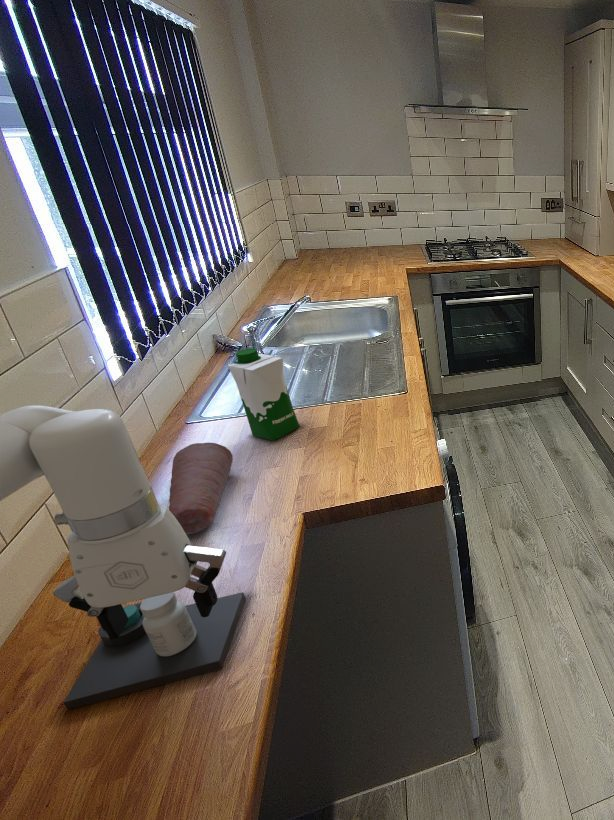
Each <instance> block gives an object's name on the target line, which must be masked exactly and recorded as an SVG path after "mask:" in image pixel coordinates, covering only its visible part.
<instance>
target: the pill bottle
mask: <svg viewBox="0 0 614 820" xmlns="http://www.w3.org/2000/svg"><path fill="white" fill-rule="evenodd" d="M140 603H141V605H140V609H141V612H142V614H143V616H144V619H143V623H142V624H143V627H144V629H145V631H146V633H147V635H148V637H149V639H150V641H151V643H152V645H153V647H154V649H155V651H156V653H157V654H158V655H160V656H171V655H174V654H177V653H179V652H181V651H182V650H184V649H186V648H187V647H188V646H189V645H190V644H191V643H192V642H193V641H194V639H195V638H196V634H197V632H196V629H195V627H194V625H193V622H192V620H191V618H190V616H189V614H188V612H187V609H186V607H185V606H186V605H185V603H184V602H182V601H181V600H178V598H177V596H176V594H175V592H172V593H168V594H164V595H159V596H155V597H150V598H146V599H142V602H140Z"/></svg>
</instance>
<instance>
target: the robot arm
mask: <svg viewBox="0 0 614 820" xmlns="http://www.w3.org/2000/svg"><path fill="white" fill-rule="evenodd" d="M43 476H44V477H45V479H46V481H47V482H48V484H49V487H50V488H51V491H52V492H53V494H54V497H55V498H56V500H57V502H58V504H59V507H60V509H61V510H62V511H61V512H58V513H56V514H55V515H54V516H53V517H54V518H53V521H54V523H55V524H56V525H57V526H61V525H68V526H69V528H70V530H71V532H70V534H69V535H68V537H67V547H68V548H67V549H68V555H69V559H70V564H71V567H72V571H73V575H71V576H70V577H68V578H67V579H65V580H63V581H62V582H60V583H59V584H58V585H57V586H56V587H55V589H54V590H53V591H52V595H53V596H54V597H55V598H57V599H59V600H61V601H62V602H64V603H68V606H69V607H70V608H73V609H76V610H79V611H83V612H86V615H87V616H88V617H90V618H96V619H97V621H98V623H99V626H100V627H102V628H103V630H104V631H106V632H107V634H108V636H109V638H110V640H112V639H117V638H118V637H119V636H120V634H121V632H122V631H123V629H124V627H125V625H126V624H127V622H128V617H127V615H126V613H125V611H124V609H123V607H124V606H123V604H124V605H125V604H127V603H132V602H137V601H143V600H144V599H146V598H150V597H155V596H159V595H164V594H168V593H172V592H174V593H175V592H178V591H180V590H182V589H184V588H186V589H189V590H191V591H193V594H192V598H193V601H194V604H195V603H196V605H197V608H198V610H199V612H200V615H201V617H203V618H204V617H208V616H209V614H210V612H211V610H212V607H213V605H215V604H216V602H217V598H218V594H217V592H216V589H215V587H214V584H213V581H215V579H217V577H218V576H219V574H220V571H221V569H222V566H223V564H224V561H225V558H226V555H227V551H226V550H225V549H221V548H213V547H212V548H211V547H204V546H197V545H196V546H195V545H192V543H191V541H190V538H189V536H188V534H186V533H185V532H184V530H183V528H182V527H181V525H180V524H179V522H178V521H177V519H176V518H175V517H174V515H173V514H172V513H171V512H170V511H169V507H167V506H166V505H164V504H163V505H162V504H161V505H160V504H159V501H158V499H157V497H156V494H155V492H154V490H153V487H152V485H151V484H150V481H149V478H148V477H147V474H146V472H145V469H144V467H143V463H142V462H141V460H140V457H139V455H138V452H137V450H136V448H135V446H134V443H133V441H132V439H131V436H130V434H129V431H128V429H127V426H126V424H125V422H124V420H123V418H122V417H121V416H120V415H119V414H118V413H117V412H115V411H113V410H110V409H105V408H90V409H82V410H77V411H76V410H70V409H63V408H59V407H54V406H48V405H37V404H35V405H33V404H32V405H24V406H21V407H16V408H13V409H11V410H8V411H7V412H4V413H2V414H0V502H2V501H3V500H5V499H6V498H8V497H9V496H11V495H12V494H14V493H16V492H17V491H19V490H21V489H22V488H24V487H26V486H27V485H29V484H30V483H32V482H33V481H35V480H38V479H39V478H41V477H43ZM198 562H200V563H207V564H209V566H208V568H205V567H204V566H201V565H199V564H198ZM195 577H196V578H195ZM197 578H198V579H197Z"/></svg>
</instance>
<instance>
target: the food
mask: <svg viewBox="0 0 614 820" xmlns="http://www.w3.org/2000/svg"><path fill="white" fill-rule="evenodd" d="M233 457H234V456H233V454H232V451H231V450H230V449H229V448H228V447H226V446H224V445H222V444H220V443H217V442H196V443H191V444H189V445H187V446H185V447H183V448H181V449H180V450H178V451H177V452H176V453H175V455H174V457H173V459H172V464H171V465H172V467H171V478H170V487H169V498H168V499H169V500H168V501H169V502H168V510H169V511H170V512H171V513H172V514H173V515H174V517H175V518H176V519H177V521H178V522H179V524H180V525H181V527H182V528H183V530H184V532H185V533H186V535H194V534H197V533H199V532H201V531H203V530H205V529H206V528H208V527H210V526H212V525H213V523H214V519H215V516H216V512H217V510H218V508H219V505H220V501H221V499H222V495H223V494H224V493H223V492H224V490H225V487H226V485H227V482H228V480H229V479H228V478H229V475H230V472H231V468H232V465H233V461H234V460H233V459H234V458H233Z"/></svg>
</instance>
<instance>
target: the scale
mask: <svg viewBox="0 0 614 820" xmlns="http://www.w3.org/2000/svg"><path fill="white" fill-rule="evenodd" d="M246 599H247V598H246V596H245V593H244V591H241V592H237V593H234V594H233V593H232V594H229V595H225V596H222V597H217V602H216V604H215V605H213V607H212V610H211V612H210V614H209V616H208V617H204V618H203V617H201V615H200V612H199V610H198V608H197V605H196V603H195V602H194V603H191V604H187V605H185V607H186V609H187V612H188V614H189V616H190V618H191V620H192V622H193V625H194V627H195V629H196V632H197V634H196V638H195V639H194V641H193V642H192V643H191V644H190V645H189V646H188V647H187V648H186V649H184V650H182V651H181V652H179V653H177V654H174V655H171V656H160V655H158V654H157V653H156V651H155V649H154V647H153V645H152V643H151V641H150V639H149V637H148V635H147V633H146V631H145V629H144V627H143V624H142V623H143V619H144V616H143V614H142V612H141V609H140V605H141V603H142V602H138V603H134V604H133V605H134V606H136V607H137V609H138V611H139V613H140V615H141V617H140V619H139V620H138V621H137V622H136V623H135V624H133V625H131V626H130V627H128V628H126V629H123V631H122V632H121V634H120V636H119V637H118V638H117V639H112V640H110V638H109V636H108V634H107V632H106V631H104V630H103V628H102V627H101V626H100V627H99V629H98V635H99V637H100V639H101V640H100V641H99V643H98V645H97V646H96V648H95V650H94V651H93V652H92V655H91V656H90V658H89V659H88V661H87V663H86V665H85V666H84V668H83V670H82V671H81V673H80V674H79V676H78V678H77V679H76V680H75V682H74V684H73V686H72V688H71V689H70V691H69V693H68V694H67V696H66V697H65V699H64V701H63V705H64V706H65V708H66V709H67V710H68V711H70V710H73V709H77V708H80V707H84V706H89V705H92V704H96V703H100V702H103V701H107V700H111V699H114V698H118V697H121V696H125V695H129V694H132V693H136V692H140V691H143V690H147V689H151V688H154V687H159V686H163V685H166V684H170V683H173V682H177V681H181V680H185V679H188V678H192V677H195V676H199V675H202V674H207V673H210V672H214V671H217V670H221V669H223V667H224V664H225V661H226V658H227V655H228V652H229V649H230V646H231V644H232V641H233V638H234V635H235V632H236V629H237V626H238V623H239V620H240V617H241V614H242V612H243V608H244V605H245V603H246Z"/></svg>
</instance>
